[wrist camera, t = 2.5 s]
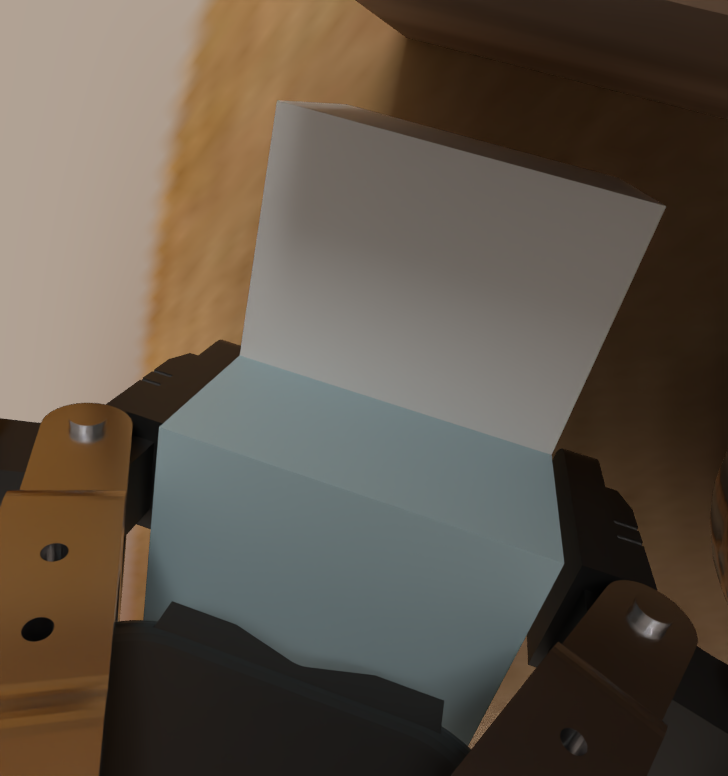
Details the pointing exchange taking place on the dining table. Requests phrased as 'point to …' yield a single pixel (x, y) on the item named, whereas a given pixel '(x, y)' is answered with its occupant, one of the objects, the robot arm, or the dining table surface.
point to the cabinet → (395, 403)
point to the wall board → (587, 41)
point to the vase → (720, 525)
